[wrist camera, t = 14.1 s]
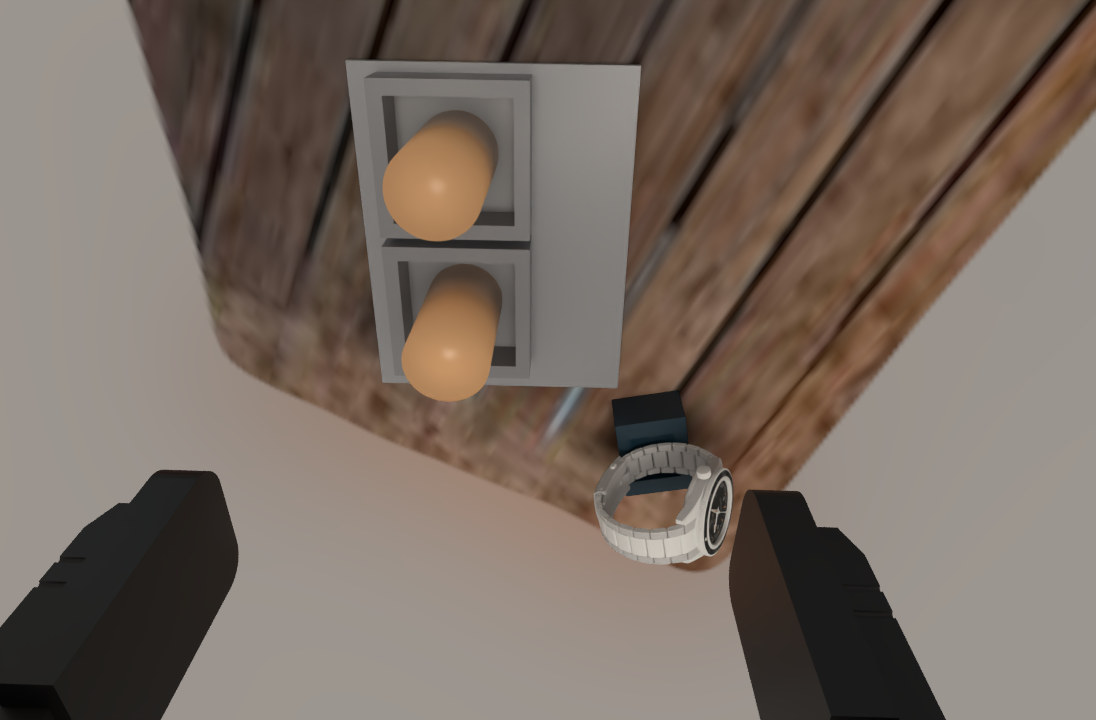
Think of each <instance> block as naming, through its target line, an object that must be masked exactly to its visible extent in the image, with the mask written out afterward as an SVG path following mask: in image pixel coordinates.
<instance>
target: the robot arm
mask: <svg viewBox="0 0 1096 720" xmlns="http://www.w3.org/2000/svg"><path fill="white" fill-rule="evenodd" d="M237 566H238V544H237V540H236V537H235V533H234V529H233V526H232V522H231V519H230V515H229V512H228V508H227V505H226V501H225V497H224V494H223V491H222V487H221V484H220V481H219V478H218V476H217V475H216V474H215V473H214V472H211V471H187V470H159V471H157V472H156V473H154V474H153V475H152V476H151V477H150V478H149V479H148V481H147V482H146V483H145V484H144V486H143V487H142V488H141V490H140V491H139V492H138V493H137V495H136V496H135V497H134V498H133V500H132V501H131V502H130V503H118V504H117V505H115V506H114V507H113V508H111V509H110V510H109V511H107V512H105V513H104V514H103V515H101V516H100V517H98V518H97V519H96V520H94V521H93V522H91V523H90V524H88V525H87V526H86V527H84V528H83V530H82V531H81V532H80V533H79V534H78V535H77V537H76V538H75V539H74V540H73V541H72V543H71V544H70V545H69V546H68V547H67V549H66V550H65V551H64V552H63V553H62V555H61V556H60V561H59V562H58V563H56V562H55V563H54V564H53V565H52V566H51V568H50V569H49V570H48V571H47V572H46V574H45V575H44V576H43V577H42V578H41V579H40V581H39V582H40V584H39V586H38V587H34V588H33V589H32V590H31V591H30V592H29V594H28V595H27V596H26V597H25V598H24V600H23V601H22V602H21V603H20V604H19V606H18V607H17V608H16V609H15V611H14V612H13V613H12V614H11V615H10V616H9V617H8V619H7V620H6V621H5V622H4V623H3V625H2V626H1V627H0V720H161V718H162V716H163V714H164V713H165V711H166V709H167V707H168V705H169V703H170V701H171V699H172V697H173V696H174V694H175V692H176V690H177V688H178V686H179V684H180V682H181V680H182V679H183V677H184V675H185V673H186V671H187V669H188V667H189V665H190V663H191V662H192V660H193V658H194V656H195V654H196V652H197V650H198V648H199V647H200V645H201V643H202V641H203V639H204V637H205V635H206V633H207V631H208V630H209V628H210V626H211V624H212V622H213V620H214V618H215V616H216V614H217V613H218V611H219V609H220V607H221V605H222V603H223V601H224V599H225V597H226V595H227V594H228V592H229V590H230V588H231V586H232V584H233V581H234V578H235V574H236V571H237ZM729 589H730V598H731V603H732V608H733V612H734V616H735V620H736V624H737V628H738V632H739V635H740V640H741V644H742V647H743V651H744V655H745V659H746V664H747V667H748V672H749V676H750V680H751V683H752V687H753V691H754V695H755V699H756V703H757V707H758V711H759V715H760V719H761V720H946V719H945V717H944V715H943V713H942V711H941V709H940V707H939V705H938V703H937V701H936V699H935V697H934V695H933V693H932V691H931V689H930V687H929V685H928V683H927V681H926V679H925V677H924V675H923V673H922V670H921V669H920V666H919V664H918V662H917V660H916V658H915V656H914V654H913V652H912V650H911V648H910V646H909V644H908V642H907V640H906V638H905V636H904V634H903V632H902V630H901V628H900V626H899V624H898V622H897V620H896V618H893V616H892V609H891V607H890V605H889V603H888V601H887V599H886V597H885V595H884V593H883V592H880V585H879V583H878V581H877V579H876V577H875V575H874V573H873V571H872V569H871V567H870V565H869V563H868V561H867V559H866V557H865V555H864V554H863V553H862V552H861V551H860V550H859V549H858V548H857V547H856V546H855V545H854V544H853V543H852V542H851V541H850V540H849V539H848V538H847V537H846V536H845V535H844V534H843V533H842V532H841V531H840V530H839V529H838V528H830V527H829V528H828V527H817V526H816V524H815V521H814V520H813V517H812V514H811V512H810V510H809V508H808V505H807V503H806V501H805V498H804V497H803V495H802V494H801V493H800V492H798V491H774V490H748V491H747V492H746V493H745V496H744V499H743V503H742V508H741V513H740V517H739V522H738V527H737V531H736V536H735V541H734V546H733V550H732V555H731V560H730V567H729Z"/></svg>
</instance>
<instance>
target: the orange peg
mask: <svg viewBox="0 0 1096 720" xmlns="http://www.w3.org/2000/svg"><path fill="white" fill-rule="evenodd" d="M501 308H502V293H501V289H500V287H499V285H498V283H497V281H496V280H495V279H494V277H493V276H492V275H491V274H489V273H488V272H487V271H485V270H484V269H482V268H480V267H477V266H474V265H470V264H457V265H453V266H449V267H447V268H445V269H444V270H442V271H441V272H440V273H438V274H437V275H436V277H435V278H434V279H433V281H432V283H431V285H430V288H429V290H428V292H427V295H426V297H425V299H424V302H423V304H422V306H421V309H420V311H419V313H418V316H417V318H416V320H415V322H414V325H413V327H412V329H411V332H410V334H409V336H408V339H407V341H406V343H405V346H404V348H403V351H402V357H401V361H402V368H403V371H404V374H405V376H406V378H407V379H408V381H409V382H410V384H411V385H412V386H413V387H414V388H415V389H416V390H418V391H419V392H420V393H422V394H424V395H425V396H427V397H430V398H432V399H435V400H440V401H459V400H463V399H466V398H468V397H470V396H472V395H474V394H475V393H477V392H478V391H479V390H480V389H481V388H482V387H483V386H484V384H485V382H486V381H487V378H488V376H489V371H490V366H491V361H492V356H493V350H494V345H495V340H496V334H497V329H498V324H499V319H500V313H501Z"/></svg>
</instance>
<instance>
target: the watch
mask: <svg viewBox="0 0 1096 720" xmlns="http://www.w3.org/2000/svg"><path fill="white" fill-rule="evenodd" d="M612 405H613V414H614V423H615V431H616V437H617V443H618V449H619V455H620V456H618V457H617V458H616V459H615V460H614V461H613V462H612V464H611V465H610V466H609V467H608V468H607V470H606V471H605V472H604V474H603V475H602V477H601V479H600V481H599V483H598V485H597V487H596V489H595V492H594V503H595V509H596V514H597V518H598V520H599V524H600V528H601V532H602V535H603V536H604V539H605V541H606V542H607V543H608V544H609V545H610V546H612V548H613V549H614V550H615V551H617V552H618V553H620V554H622V555H624V556H625V557H627V558H629V559H632V560H635V561H637V560H638V561H639V562H643V563H648V564H654V563H655V564H670V563H671V562H672V563H678V562H684V563H690V562H692V561H694V560H696V559H698V558H700V557H702V556H703V555H706V556H713V555H715V554H716V552H717V551H718V550H719V548H720V546H721V545H722V543H723V540H724V538H725V535H726V533H727V529H728V526H729V522H730V517H731V512H732V504H733V481H732V476H731V473H730V471H729V470H728V469H726V468H723V467H722V461H721V459H720V458H719V457H716V456H715V455H712V453H711V452H709V451H707V450H705V449H702V448H700V447H698V446H694V445H690V444H688V436H687V427H686V417H685V413H684V410H683V406H682V402H681V399H680V395H679V391H678V390H677V391H670V392H663V393H656V394H649V395H642V396H635V397H628V398H622V399H615V400H612ZM692 476H693V479H692ZM687 488H688V490H687V493H686V496H685V500H684V505H683V509H682V510H681V511H680V513H679V514H678V515H677V518H676V523H677V524H679V525H676V526H672V527H668V528H667V530H666V528H658V529H651V530H650V531H649V529H643V528H635V529H634V528H633V527H632V526H628V525H625V524H620V523H619V522H617V521H615V520H614V519H612V518H613V515H614V513H615V510H616V508H617V506H618V504H619V503H620V501H621V500H622V499H623V497H624V496H625V495H626V496H632V495H640V494H648V493H655V492H663V491H671V490H679V489H687ZM667 533H668V534H667ZM663 542H664V545H663ZM664 549H665V552H664ZM670 557H671V559H670Z"/></svg>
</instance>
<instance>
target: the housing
mask: <svg viewBox="0 0 1096 720" xmlns="http://www.w3.org/2000/svg"><path fill="white" fill-rule="evenodd" d="M345 61H346V70H347V79H348V87H349V96H350V105H351V113H352V122H353V131H354V139H355V148H356V157H357V165H358V174H359V183H360V191H361V200H362V209H363V217H364V226H365V235H366V243H367V252H368V261H369V269H370V278H371V286H372V295H373V304H374V312H375V321H376V330H377V338H378V347H379V356H380V364H381V373H382V382H384V383H410V382H409V381H408V379H407V378H406V376H405V374H404V371H403V368H402V361H401V357H402V351H403V348H404V346H405V343H406V341H407V339H408V336H409V334H410V332H411V329H412V327H413V325H414V322H415V320H416V318H417V316H418V313H419V311H420V309H421V306H422V304H423V302H424V299H425V297H426V295H427V292H428V290H429V288H430V285H431V283H432V281H433V279H434V278H435V277H436V275H437V274H438V273H440V272H441V271H442V270H444V269H445V268H447V267H449V266H453V265H457V264H470V265H474V266H477V267H480V268H482V269H484V270H485V271H487V272H488V273H489V274H491V275H492V276H493V277H494V279H495V280H496V281H497V283H498V285H499V287H500V289H501V293H502V308H501V313H500V319H499V324H498V329H497V334H496V340H495V345H494V350H493V356H492V361H491V366H490V371H489V376H488V378H487V381H486V382H485V384H484V385H509V386H551V387H592V388H618V375H619V361H620V348H621V334H622V320H623V307H624V293H625V279H626V265H627V252H628V238H629V224H630V211H631V197H632V183H633V170H634V156H635V142H636V129H637V115H638V101H639V88H640V74H641V65H640V64H585V63H530V62H475V61H421V60H366V59H348V60H345Z"/></svg>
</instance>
